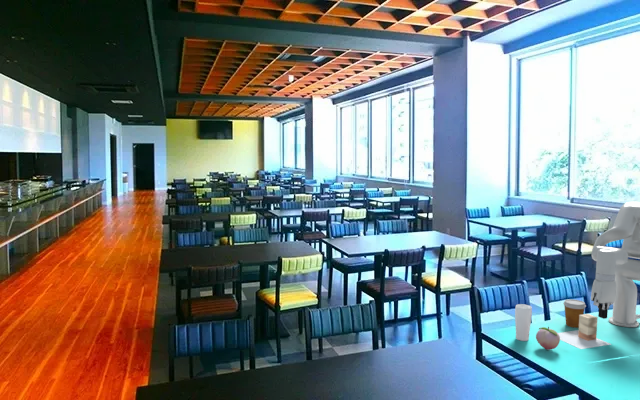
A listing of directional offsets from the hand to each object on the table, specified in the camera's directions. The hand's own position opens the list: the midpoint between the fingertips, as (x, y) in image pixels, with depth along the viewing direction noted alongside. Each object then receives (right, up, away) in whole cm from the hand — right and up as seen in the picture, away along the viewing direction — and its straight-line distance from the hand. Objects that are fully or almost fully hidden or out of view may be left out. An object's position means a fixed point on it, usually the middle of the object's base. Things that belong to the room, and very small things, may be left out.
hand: (602, 317), depth 225 cm
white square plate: (-12, -9, -3) cm, 16 cm away
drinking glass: (-37, -9, -2) cm, 38 cm away
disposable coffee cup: (-6, -8, +15) cm, 18 cm away
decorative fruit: (-31, -11, -14) cm, 35 cm away
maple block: (-8, -9, -2) cm, 12 cm away
